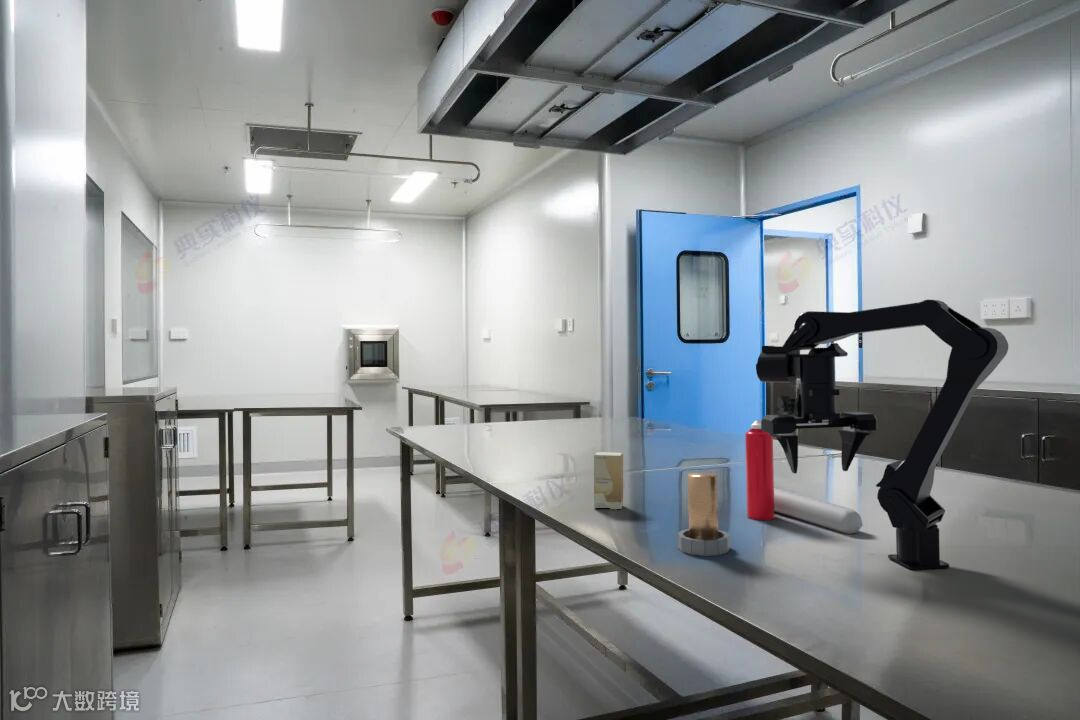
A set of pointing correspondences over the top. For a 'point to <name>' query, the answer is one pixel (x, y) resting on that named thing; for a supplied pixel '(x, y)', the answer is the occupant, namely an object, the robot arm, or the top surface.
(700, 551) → the collar
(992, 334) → the robot arm
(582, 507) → the top surface
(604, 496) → the skincare box
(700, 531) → the copper stub
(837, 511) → the tube
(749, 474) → the bottle
